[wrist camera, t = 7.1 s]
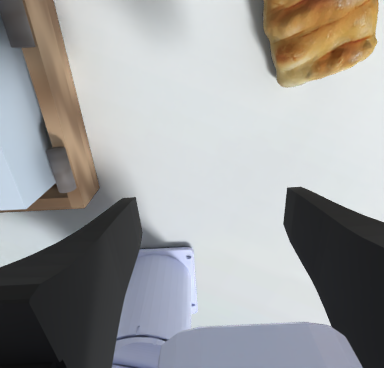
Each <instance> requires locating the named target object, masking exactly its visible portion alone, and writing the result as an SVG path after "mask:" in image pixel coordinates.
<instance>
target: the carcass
mask: <svg viewBox="0 0 384 368" xmlns="http://www.w3.org/2000/svg"><path fill="white" fill-rule="evenodd" d="M0 15H1V18H2V21H3V24H4V27H5V30H6V33H7V36H8V39H9V42H10V45H11V47H12V48H22V51H23V54H24V58H25V61H26V64H27V67H28V70H29V74H30V77H31V80H32V83H33V86H34V90H35V93H36V96H37V99H38V102H39V105H40V109H41V112H42V115H43V118H44V121H45V125H46V128H47V131H48V134H49V137H50V140H51V144H52V147H53V148H49V149H47V150H46V155H47V158H48V161H49V164H50V167H51V170H52V173H53V176H54V179H55V182H56V183H55V184H54V185H53V186H52V187H51V188H50V189H49V190H47V191H46V192H45V193H44V194H43V195H42V196H41V197H40V198H38V199H37V200H36V201H35V202H34V203H33V204H32V205H31V206H29V207H28V208H27V209H19V210H0V213H2V212H21V211H41V210H60V209H80V208H85V207H86V206H87V204H88V203H89V202H90V200H91V199H92V198H93V196H94V195H95V194H96V192H97V191H98V189H99V188H100V187H99V183H98V179H97V175H96V171H95V167H94V163H93V159H92V155H91V151H90V147H89V143H88V139H87V135H86V130H85V126H84V122H83V118H82V114H81V110H80V106H79V102H78V98H77V94H76V90H75V86H74V82H73V78H72V74H71V70H70V66H69V62H68V58H67V54H66V50H65V45H64V41H63V37H62V33H61V29H60V25H59V21H58V17H57V13H56V9H55V5H54V1H53V0H0Z"/></svg>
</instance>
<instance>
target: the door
mask: <svg viewBox="0 0 384 368" xmlns="http://www.w3.org/2000/svg"><path fill="white" fill-rule="evenodd" d="M49 148H53V147H52V144H51V140H50V137H49V134H48V131H47V128H46V125H45V121H44V118H43V115H42V112H41V109H40V105H39V102H38V99H37V96H36V93H35V90H34V86H33V83H32V80H31V77H30V74H29V70H28V67H27V64H26V61H25V58H24V54H23V51H22V48H12V47H11V45H10V42H9V39H8V36H7V33H6V30H5V27H4V24H3V21H2V18H1V15H0V210H19V209H27V208H28V207H29V206H31V205H32V204H33V203H34V202H35V201H36V200H37V199H38V198H40V197H41V196H42V195H43V194H44V193H45V192H46V191H47V190H49V189H50V188H51V187H52V186H53V185H54V184H55V183H56V182H55V179H54V176H53V173H52V170H51V167H50V164H49V161H48V158H47V155H46V150H47V149H49Z"/></svg>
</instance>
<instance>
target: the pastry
mask: <svg viewBox="0 0 384 368" xmlns="http://www.w3.org/2000/svg"><path fill="white" fill-rule="evenodd" d="M377 14H378V0H264V9H263V17H264V20H263V28H264V32H265V34H266V36H267V37H268V39H269V41H270V50H271V57H272V60H273V63H274V65H275V68H276V73H277V82H278V83H279V84H280V85H281V86H282V87H286V88H288V87H296V86H299V85H302V84H305V83H306V82H309V81H312V80H317V79H321V78H323V77H326V76H328V75H332V74H335V73H338V72H340V71H344V70H347V69H349V68H351V67H353V66H354V65H355V64H357V63H358V62H361V61H363V60H364V59H366V58H367V57H368V56H369V55H370V54H371V53H372V52H373V50H374V48H375V46H376V44H377V39H376V38H375V30H376V23H377Z"/></svg>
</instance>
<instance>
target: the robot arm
mask: <svg viewBox="0 0 384 368" xmlns="http://www.w3.org/2000/svg"><path fill="white" fill-rule="evenodd" d="M284 227H285V230H286V232H287V235H288V238H289V240H290V242H291V244H292V246H293V248H294V250H295V252H296V253H297V255H298V257H299V259H300V260H301V262H302V264H303V266H304V268H305V269H306V271H307V273H308V275H309V276H310V278H311V280H312V282H313V284H314V286H315V288H316V290H317V292H318V294H319V297H320V299H321V301H322V304H323V306H324V308H325V311H326V313H327V316H328V318H329V321H330V323H331V326H332V327H331V326H328V325H324V324H316V323H309V322H293V323H271V324H249V325H227V326H205V327H197V328H192V329H191V314H194V313H197V311H198V308H197V294H196V280H195V267H194V253H193V249H192V248H190V247H181V248H159V249H140V244H141V238H142V228H141V223H140V217H139V212H138V207H137V202H136V197H133V198H123V199H121V200H119V201H118V202H117V203H115V204H114V205H113V206H111V207H110V208H109V209H107V210H106V211H105V212H103V213H102V214H101V215H99V216H98V217H97V218H95V219H94V220H93V221H91V222H90V223H88V224H87V225H85V226H84V227H82V228H81V229H80V230H78V231H76V232H75V233H73V234H72V235H70V236H68V237H66V238H65V239H63V240H61V241H59V242H57V243H56V244H54V245H51V246H49V247H47V248H45V249H43V250H41V251H39V252H37V253H35V254H33V255H30V256H28V257H26V258H23V259H21V260H18V261H16V262H13V263H11V264H8V265H5V266H3V267H0V368H384V222H381V221H378V220H375V219H373V218H370V217H367V216H364V215H362V214H359V213H357V212H355V211H352V210H350V209H348V208H345V207H343V206H341V205H339V204H337V203H334V202H332V201H330V200H328V199H326V198H324V197H322V196H320V195H318V194H316V193H314V192H312V191H309V190H307V189H305V188H302V187H291V188H287V195H286V204H285V214H284ZM187 255H190V256H189V257H188V256H187ZM192 303H193V304H192Z"/></svg>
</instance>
